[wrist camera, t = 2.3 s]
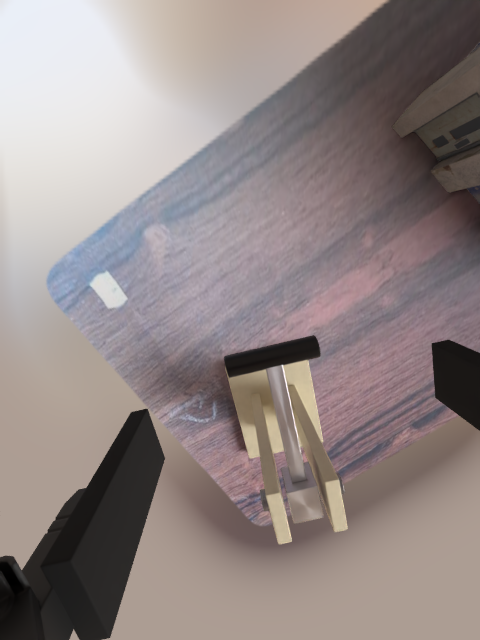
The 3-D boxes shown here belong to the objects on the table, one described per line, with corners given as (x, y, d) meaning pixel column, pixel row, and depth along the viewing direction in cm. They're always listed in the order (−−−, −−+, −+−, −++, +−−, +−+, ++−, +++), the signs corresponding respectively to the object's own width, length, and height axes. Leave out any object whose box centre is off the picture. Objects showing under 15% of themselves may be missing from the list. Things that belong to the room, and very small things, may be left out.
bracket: (225, 363, 33) (222, 454, 19) (303, 345, 33) (361, 423, 18) (248, 452, 36) (262, 589, 22) (320, 435, 36) (382, 563, 21)
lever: (224, 350, 20) (223, 364, 18) (310, 330, 20) (320, 341, 18) (264, 501, 23) (267, 530, 21) (338, 485, 23) (350, 512, 21)
